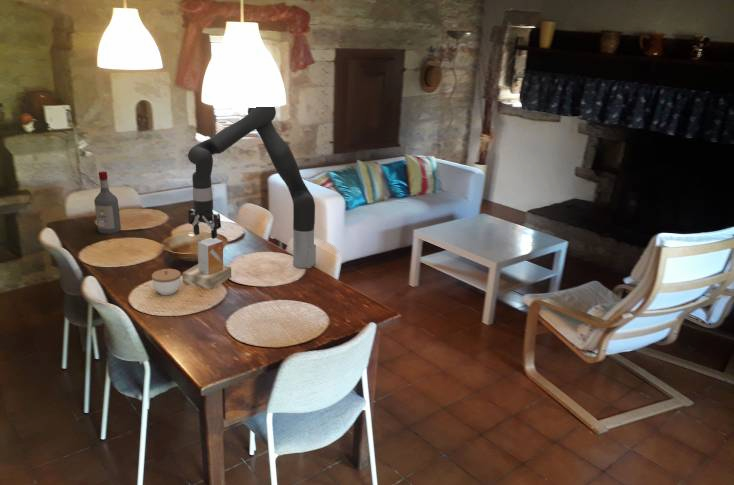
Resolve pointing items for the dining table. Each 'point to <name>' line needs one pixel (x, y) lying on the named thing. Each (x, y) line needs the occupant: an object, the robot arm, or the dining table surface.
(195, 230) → the robot arm
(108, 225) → the liquor
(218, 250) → the small box
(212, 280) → the birch plinth
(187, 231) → the dining table surface
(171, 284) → the lidded jar
